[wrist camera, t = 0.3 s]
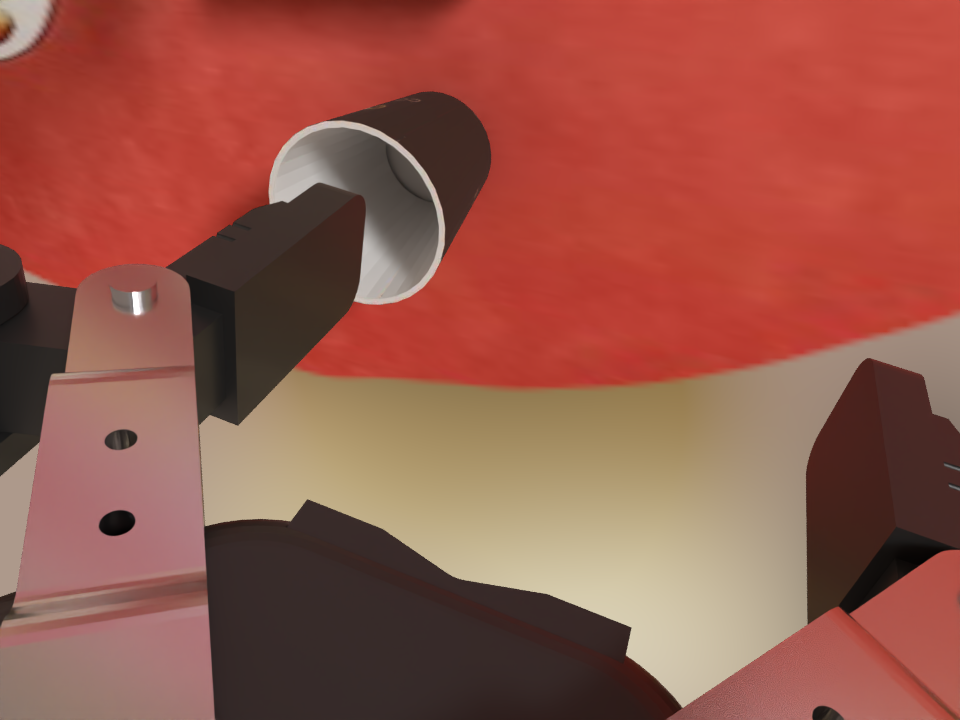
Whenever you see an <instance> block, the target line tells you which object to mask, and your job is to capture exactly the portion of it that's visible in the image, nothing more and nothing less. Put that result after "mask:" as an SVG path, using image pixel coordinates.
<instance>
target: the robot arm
mask: <svg viewBox="0 0 960 720" xmlns="http://www.w3.org/2000/svg"><path fill="white" fill-rule="evenodd" d="M365 217H366V204H365V200H364V198H363V196H361V195H359V194H356V193H353V192H349V191H346V190H343V189H340V188H337V187H334V186H331V185H327V184H324V183H320V182H319V183H316V184H314V185H313V186H311V187H310V188H308V189H307V190H306V191H304V192H303V193H301V194H300V195H299V196H297V197H296V198H294V199H293V200H291V201H290V202H289V203H287V202H284V201H280V202H276V203H272V204H269V205H265V206H262V207H258V208H255V209H252V210H251V211H249V212H248V213H246V214H245V215H243V216H242V217H240V218H239V219H237V220H236V221H234V222H233V225H228V226H227V227H225V228H224V229H222V230H221V231H220V232H218V233H217V236H216V237H215V236H212V237H211V238H209V239H208V240H206V241H205V242H203V243H202V244H200V245H199V246H197V247H196V248H194V249H193V250H191V251H190V252H188V253H187V254H185V255H184V256H182V257H181V258H179V259H178V260H176V261H175V262H173V263H172V264H170V265H169V266H167V267H166V268H164V267H160V266H155V265H147V264H126V265H119V266H114V267H110V268H106V269H103V270H100V271H98V272H96V273H94V274H92V275H90V276H88V277H87V278H85V279H84V280H83V281H82V282H81V283H80V285H79V286H78V288H69V287H61V286H54V285H46V284H38V283H30V282H26V280H25V276H24V271H23V266H22V261H21V258H20V256H19V255H18V254H17V253H16V252H15V251H14V250H12V249H10V248H9V247H6V246H4V245H1V244H0V476H1V475H2V474H3V473H4V472H6V471H7V470H8V469H9V468H10V467H11V466H12V465H14V464H15V463H16V462H17V461H18V460H19V459H21V458H22V457H23V456H24V455H25V454H26V453H28V451H30V450H31V449H32V448H33V447H34V446H36V445H37V444H38V443H39V442H40V444H39V450H38V456H37V463H36V469H35V475H34V482H33V488H32V495H31V502H30V507H29V514H28V520H27V526H26V533H25V539H24V546H23V552H22V558H21V565H20V571H19V578H18V583H17V590H16V592H13V593H10V594H8V595H5V596H2V597H0V720H960V433H959V432H958V431H957V429H956V428H955V427H954V426H953V424H952V423H951V422H950V421H949V419H946V418H944V417H940V416H937V415H934V414H932V410H931V406H930V402H929V398H928V393H927V389H926V385H925V380H924V377H923V376H922V375H920V374H918V373H914V372H912V371H908V370H905V369H902V368H899V367H896V366H892V365H890V364H886V363H883V362H880V361H877V360H874V359H871V358H867V359H865V360H864V361H863V362H862V363H861V364H860V365H859V367H858V368H857V370H856V371H855V373H854V375H853V376H852V378H851V380H850V382H849V383H848V385H847V387H846V388H845V390H844V392H843V393H842V395H841V397H840V399H839V400H838V402H837V404H836V405H835V407H834V409H833V411H832V412H831V414H830V416H829V418H828V419H827V421H826V423H825V424H824V426H823V428H822V429H821V431H820V433H819V435H818V437H817V439H816V441H815V443H814V445H813V448H812V451H811V453H810V457H809V460H808V465H807V471H806V513H807V514H806V516H807V612H808V625H807V626H805V627H804V628H802V629H801V630H799V631H798V632H796V633H795V634H793V635H792V636H790V637H789V638H787V639H786V640H784V641H783V642H781V643H780V644H778V645H777V646H775V647H774V648H772V649H771V650H769V651H768V652H766V653H765V654H763V655H762V656H760V657H759V658H757V659H756V660H754V661H753V662H751V663H750V664H748V665H747V666H745V667H744V668H742V669H741V670H739V671H738V672H736V673H735V674H734V675H732V676H730V677H729V678H727V679H726V680H724V681H723V682H721V683H720V684H719V685H717V686H715V687H714V688H712V689H711V690H709V691H708V692H706V693H705V694H703V695H702V696H700V697H699V698H698V699H696V700H694V701H693V702H691V703H690V704H688V705H687V706H685V707H684V708H682V707H681V705H680V704H679V703H678V702H677V701H676V699H675V698H674V697H673V696H672V695H671V694H670V693H669V692H668V690H667V689H666V688H664V686H663V685H661V684H660V682H659V681H658V680H657V679H656V678H654V677H653V676H652V675H651V674H650V673H648V672H647V671H646V670H645V669H644V668H642V667H641V666H640V665H639V664H637V663H636V662H635V661H633V660H632V659H630V658H629V657H627V656H626V650H627V646H628V641H629V636H630V631H631V627H628V626H626V625H624V624H621V623H618V622H616V621H613V620H611V619H608V618H606V617H603V616H601V615H598V614H596V613H593V612H590V611H588V610H586V609H583V608H581V607H578V606H576V605H573V604H571V603H568V602H565V601H563V600H560V599H558V598H555V597H553V596H550V595H548V594H543V593H537V592H530V591H525V590H519V589H513V588H507V587H501V586H495V585H489V584H483V583H477V582H471V581H465V580H461V579H457V578H455V577H452V576H451V575H449V574H447V573H446V572H444V571H443V570H441V569H440V568H438V567H437V566H436V565H434V564H433V563H431V562H430V561H428V560H427V559H425V558H424V557H422V556H421V555H420V554H418V553H417V552H415V551H414V550H412V549H411V548H409V547H408V546H406V545H405V544H403V543H402V542H401V541H399V540H398V539H396V538H395V537H393V536H392V535H390V534H389V533H388V532H386V531H385V530H383V529H381V528H378V527H376V526H373V525H371V524H368V523H366V522H363V521H361V520H358V519H356V518H353V517H351V516H348V515H346V514H343V513H341V512H338V511H336V510H333V509H331V508H328V507H326V506H323V505H320V504H318V503H315V502H313V501H310V500H307V501H306V502H305V503H304V505H303V506H302V507H301V509H300V510H299V511H298V513H297V514H296V515H295V517H294V518H293V519H292V521H291V522H290V521H283V520H268V519H253V520H237V521H230V522H223V523H218V524H213V525H209V526H205V517H204V500H203V485H202V467H201V451H200V436H199V425H200V424H201V423H202V422H203V421H204V420H205V419H206V418H207V417H208V416H209V415H212V416H214V417H217V418H220V419H222V420H225V421H227V422H230V423H233V424H235V425H239V424H240V423H241V422H242V421H243V420H244V419H245V418H246V417H247V416H248V415H249V413H251V412H252V410H253V409H254V408H255V407H256V406H257V405H258V404H259V403H260V402H261V401H262V400H263V399H264V398H265V397H266V396H267V395H268V394H269V393H270V392H271V391H272V390H273V388H275V386H277V384H278V383H279V382H280V381H281V380H282V379H283V378H284V377H285V376H286V375H287V374H288V373H289V372H290V371H291V370H292V369H293V368H294V367H295V366H296V365H297V364H298V363H299V362H300V361H301V360H302V359H303V358H304V357H305V356H306V355H307V353H308V352H309V351H310V350H311V349H312V348H313V347H314V346H315V345H316V344H317V343H318V342H319V341H320V340H321V339H322V338H323V337H324V336H325V335H326V334H327V333H328V332H329V331H330V330H331V329H332V328H333V327H334V326H335V324H336V323H337V322H338V321H339V320H340V319H341V318H342V317H343V316H344V315H345V314H346V313H347V312H348V310H349V309H350V307H351V305H352V303H353V301H354V299H355V296H356V294H357V291H358V287H359V282H360V274H361V262H362V251H363V240H364V228H365Z"/></svg>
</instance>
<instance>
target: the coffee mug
mask: <svg viewBox="0 0 960 720" xmlns="http://www.w3.org/2000/svg"><path fill="white" fill-rule="evenodd" d="M490 165H491V150H490V143H489V140H488V136H487V133H486V131H485V129H484V127H483V125H482V123H481V121H480V120H479V119H478V117H477V116H476V115H475V113H474V112H473V111H472V110H471V109H470V108H468V107H467V106H466V105H465V104H464V103H462V102H461V101H459V100H458V99H456V98H454V97H452V96H449V95H446V94H444V93H438V92H420V93H417V94H414V95H410V96H407V97H404V98H400V99H397V100H394V101H390V102H387V103H384V104H380V105H377V106H374V107H370V108H367V109H364V110H360V111H357V112H354V113H350V114H347V115H344V116H340V117H337V118H334V119H330V120H327V121H324V122H320V123H317V124H314V125H310V126H308V127H306V128H304V129H303V130H301V131H299V132H298V133H296V134H294V135H293V137H292V138H291V139H290V140H289V141H288V142H287V143H286V144H285V145H284V146H283V147H282V149H281V151H280V152H279V154H278V156H277V157H276V159H275V162H274V165H273V168H272V171H271V175H270V183H269V201H270V204H272V203H276V202H280V201H284V202H287V203H289V202H290V201H291V200H293V199H294V198H296V197H297V196H299V195H300V194H301V193H303V192H304V191H306V190H307V189H308V188H310V187H311V186H313V185H314V184H316V183H319V182H320V183H324V184H327V185H331V186H334V187H337V188H340V189H343V190H346V191H349V192H353V193H356V194H359V195H361V196H363V198H364V200H365V204H366V217H365V228H364V240H363V251H362V262H361V274H360V282H359V287H358V291H357V294H356V296H355V299H354V302H359V303H363V304H378V305H382V304H388V303H394V302H398V301H401V300H403V299H405V298H408V297H410V296H412V295H413V294H415V293H416V292H418V291H419V290H420V289H422V288H423V287H424V286H425V285H426V284H427V282H428V281H429V280H430V279H431V278H432V277H433V275H434V273H435V271H436V270H437V268H438V266H439V264H440V262H441V261H442V259H443V257H444V255H445V253H446V252H447V250H448V248H449V246H450V244H451V243H452V241H453V239H454V237H455V235H456V234H457V232H458V230H459V228H460V226H461V225H462V223H463V221H464V219H465V217H466V216H467V214H468V212H469V210H470V208H471V207H472V205H473V203H474V201H475V199H476V198H477V196H478V194H479V192H480V190H481V189H482V187H483V185H484V183H485V181H486V179H487V177H488V173H489V170H490Z"/></svg>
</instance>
